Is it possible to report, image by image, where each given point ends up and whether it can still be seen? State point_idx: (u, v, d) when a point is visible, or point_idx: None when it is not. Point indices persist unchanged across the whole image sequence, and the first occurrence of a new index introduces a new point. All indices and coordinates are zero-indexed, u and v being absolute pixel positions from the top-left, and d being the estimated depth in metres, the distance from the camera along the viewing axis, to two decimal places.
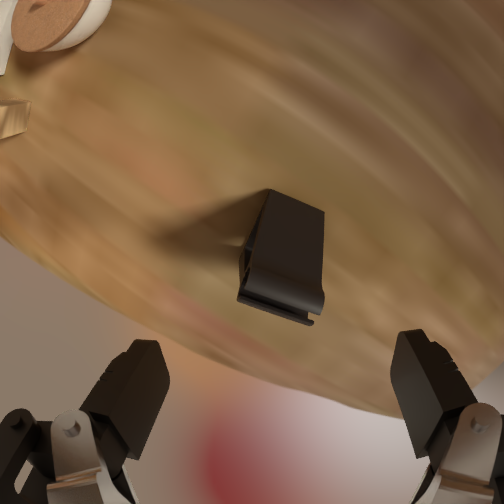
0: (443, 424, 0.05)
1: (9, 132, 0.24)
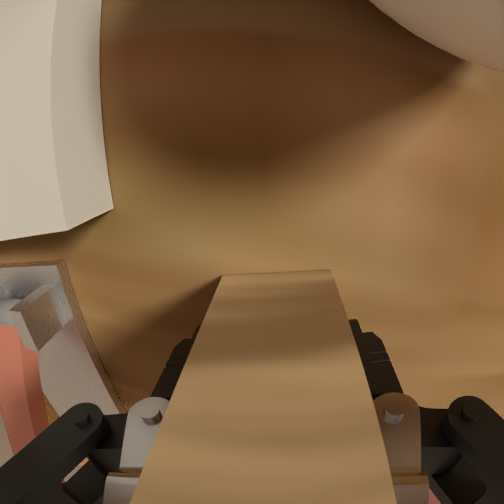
0: None
1: None
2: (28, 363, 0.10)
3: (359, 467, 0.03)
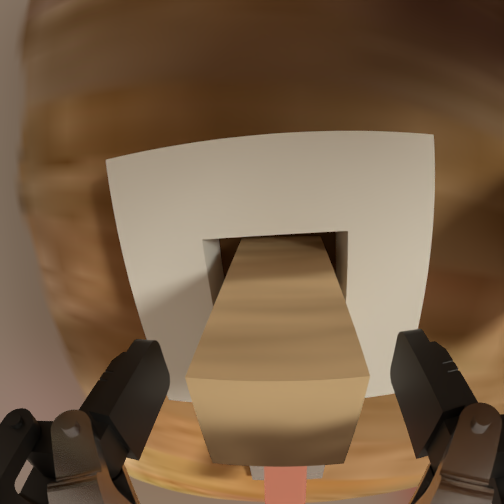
0: (443, 424, 0.05)
1: None
2: None
3: (334, 321, 0.08)
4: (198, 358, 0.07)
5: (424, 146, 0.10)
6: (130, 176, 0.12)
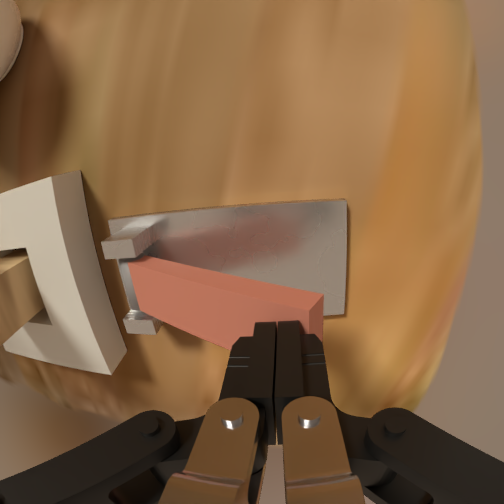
0: None
1: (14, 263, 0.15)
2: (151, 264, 0.14)
3: None
4: None
5: None
6: (5, 342, 0.19)
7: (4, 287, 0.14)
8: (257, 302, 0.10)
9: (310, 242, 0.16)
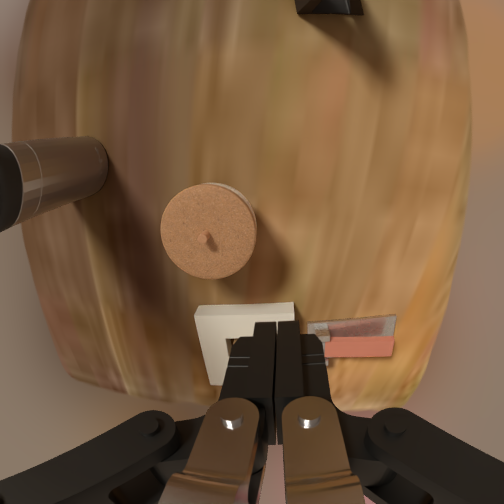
0: None
1: None
2: (337, 339, 0.41)
3: None
4: None
5: (198, 318, 0.41)
6: (214, 380, 0.45)
7: None
8: (381, 342, 0.39)
9: (382, 329, 0.42)
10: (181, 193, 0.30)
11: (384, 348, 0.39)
